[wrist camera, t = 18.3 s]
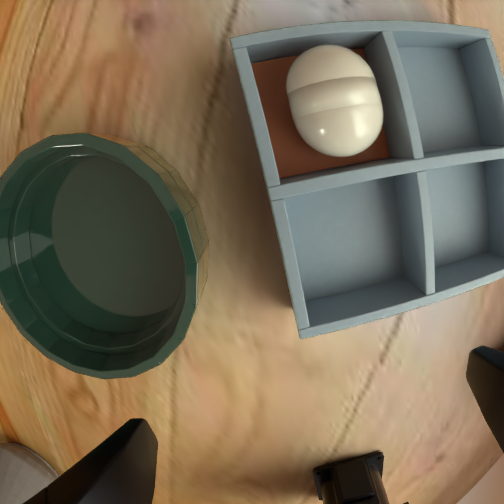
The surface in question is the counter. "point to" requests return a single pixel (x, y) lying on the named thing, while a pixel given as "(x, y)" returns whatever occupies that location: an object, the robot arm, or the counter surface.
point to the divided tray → (384, 171)
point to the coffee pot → (22, 473)
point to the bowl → (100, 253)
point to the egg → (334, 100)
